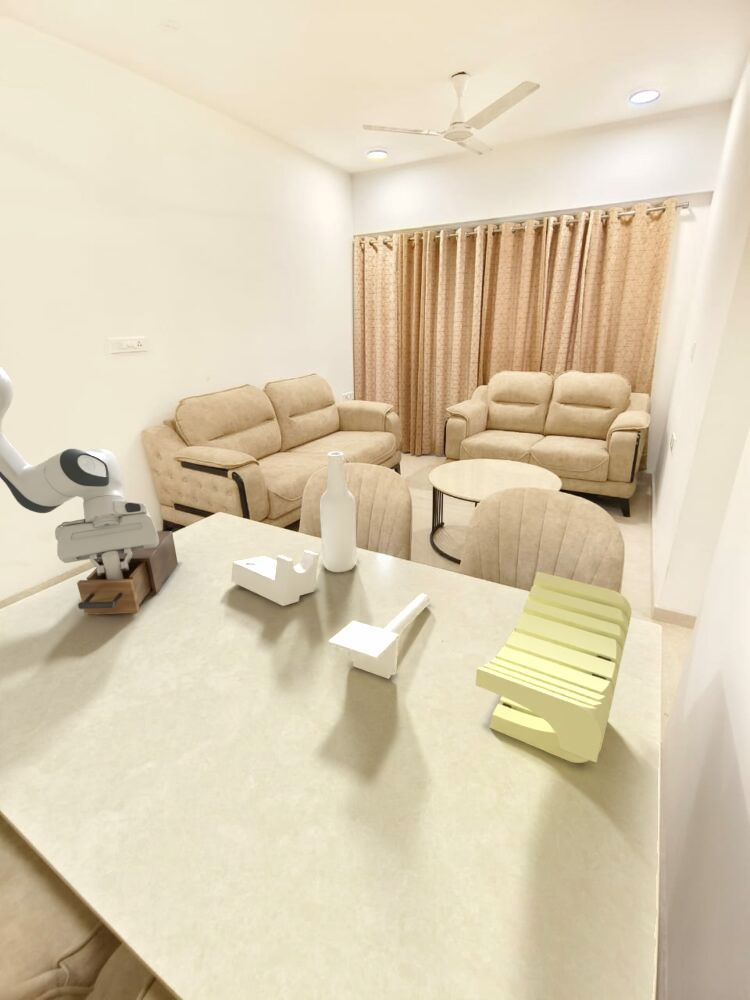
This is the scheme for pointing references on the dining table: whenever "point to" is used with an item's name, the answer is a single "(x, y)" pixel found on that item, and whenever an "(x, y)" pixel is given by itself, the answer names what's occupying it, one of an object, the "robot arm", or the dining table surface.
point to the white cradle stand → (277, 576)
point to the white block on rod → (378, 640)
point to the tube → (112, 565)
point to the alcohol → (338, 519)
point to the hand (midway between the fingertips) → (113, 572)
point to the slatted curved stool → (560, 668)
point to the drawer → (115, 590)
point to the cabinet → (156, 560)
